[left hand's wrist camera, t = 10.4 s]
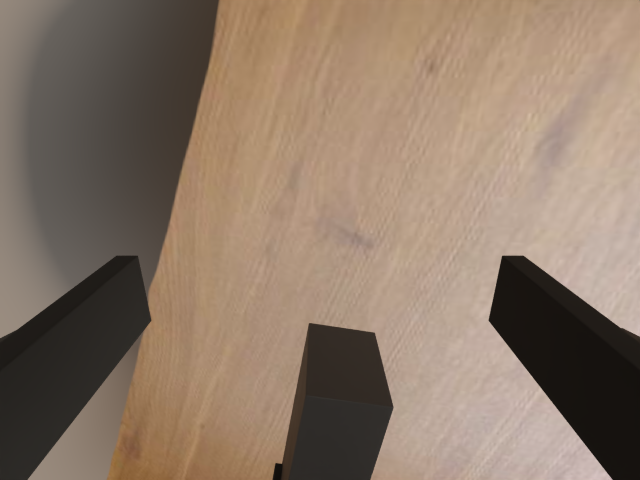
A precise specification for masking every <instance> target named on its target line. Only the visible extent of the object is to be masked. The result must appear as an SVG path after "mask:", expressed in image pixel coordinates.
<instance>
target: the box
mask: <svg viewBox="0 0 640 480" xmlns="http://www.w3.org/2000/svg"><path fill="white" fill-rule="evenodd" d="M392 411H393V404H392V400H391V396H390V392H389V388H388V384H387V380H386V376H385V372H384V368H383V364H382V360H381V356H380V352H379V348H378V344H377V340H376V336H375V333H373V332H366V331H359V330H353V329H346V328H339V327H332V326H326V325H319V324H312V323H309V326H308V331H307V337H306V342H305V347H304V352H303V357H302V363H301V368H300V373H299V378H298V384H297V389H296V394H295V399H294V404H293V410H292V415H291V420H290V425H289V431H288V436H287V441H286V446H285V451H284V457H283V462H282V473H281V480H370V479H371V476H372V473H373V470H374V467H375V463H376V460H377V457H378V454H379V451H380V448H381V445H382V442H383V439H384V436H385V432H386V429H387V426H388V423H389V420H390V417H391V414H392Z"/></svg>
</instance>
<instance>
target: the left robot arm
mask: <svg viewBox="0 0 640 480" xmlns="http://www.w3.org/2000/svg"><path fill="white" fill-rule="evenodd" d="M150 322H151V316H150V312H149V307H148V302H147V297H146V293H145V288H144V283H143V278H142V274H141V269H140V264H139V259H138V256H116V257H114V258H113V259H112V260H110V261H109V262H108V263H106V264H105V265H104V266H102V267H101V268H99V269H98V270H97V271H95V272H94V273H93V274H91V275H90V276H89V277H87V278H86V279H85V280H83V281H82V282H81V283H79V284H78V285H77V286H75V287H74V288H73V289H71V290H70V291H69V292H67V293H66V294H65V295H63V296H62V297H61V298H59V299H58V300H57V301H55V302H54V303H53V304H51V305H50V306H48V307H47V308H46V309H45V310H43V311H42V312H40V313H39V314H38V315H36V316H35V317H34V318H32V319H31V320H30V321H28V322H27V323H26V324H24V325H23V326H22V327H20V328H19V329H18V330H16V331H14V332H12V333H10V334H8V335H6V336H4V337H2V338H0V480H28V478H29V477H30V476H31V474H32V473H33V472H34V471H35V469H36V468H37V467H38V465H39V464H40V463H41V462H42V460H43V459H44V458H45V456H46V455H47V454H48V453H49V451H50V450H51V449H52V447H53V446H54V445H55V444H56V442H57V441H58V440H59V438H60V437H61V436H62V435H63V433H64V432H65V431H66V429H67V428H68V427H69V426H70V424H71V423H72V422H73V420H74V419H75V418H76V417H77V415H78V414H79V413H80V411H81V410H82V409H83V408H84V406H85V405H86V404H87V402H88V401H89V400H90V399H91V397H92V396H93V395H94V394H95V392H96V391H97V390H98V388H99V387H100V386H101V385H102V383H103V382H104V381H105V379H106V378H107V377H108V376H109V374H110V373H111V372H112V370H113V369H114V368H115V367H116V365H117V364H118V363H119V361H120V360H121V359H122V358H123V356H124V355H125V354H126V352H127V351H128V350H129V349H130V347H131V346H132V345H133V343H134V342H135V341H136V340H137V338H138V337H139V336H140V335H141V333H142V332H143V331H144V329H145V328H146V327H147V326H148V324H149V323H150ZM489 322H490V323H491V324H492V326H493V327H494V328H495V329H496V331H497V332H498V333H499V335H500V336H501V337H502V338H503V340H504V341H505V342H506V343H507V345H508V346H509V347H510V349H511V350H512V351H513V352H514V354H515V355H516V356H517V358H518V359H519V360H520V361H521V363H522V364H523V365H524V367H525V368H526V369H527V370H528V372H529V373H530V374H531V376H532V377H533V378H534V379H535V381H536V382H537V383H538V385H539V386H540V387H541V388H542V390H543V391H544V392H545V394H546V395H547V396H548V397H549V399H550V400H551V401H552V403H553V404H554V405H555V406H556V408H557V409H558V410H559V412H560V413H561V414H562V415H563V417H564V418H565V419H566V420H567V422H568V423H569V424H570V426H571V427H572V428H573V429H574V431H575V432H576V433H577V435H578V436H579V437H580V438H581V440H582V441H583V442H584V444H585V445H586V446H587V447H588V449H589V450H590V451H591V453H592V454H593V455H594V456H595V458H596V459H597V460H598V462H599V463H600V464H601V465H602V467H603V468H604V469H605V471H606V472H607V473H608V474H609V476H610V477H611V478H612V480H640V337H639V336H637V335H635V334H633V333H631V332H629V331H627V330H625V329H623V328H620V327H618V326H617V325H616V324H614V323H613V322H612V321H610V320H609V319H608V318H606V317H605V316H604V315H602V314H601V313H600V312H598V311H597V310H596V309H594V308H593V307H592V306H590V305H589V304H588V303H586V302H585V301H583V300H582V299H581V298H579V297H578V296H577V295H575V294H574V293H573V292H571V291H570V290H569V289H567V288H566V287H565V286H563V285H562V284H561V283H559V282H558V281H557V280H555V279H554V278H553V277H551V276H550V275H549V274H547V273H546V272H545V271H543V270H542V269H541V268H539V267H538V266H537V265H535V264H534V263H532V262H531V261H530V260H528V259H527V258H526V257H524V256H502V259H501V264H500V269H499V273H498V278H497V283H496V288H495V293H494V297H493V302H492V307H491V312H490V316H489Z"/></svg>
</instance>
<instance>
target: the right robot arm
mask: <svg viewBox="0 0 640 480" xmlns="http://www.w3.org/2000/svg"><path fill="white" fill-rule="evenodd" d="M281 473H282V464H278V463H276V464H275V469H274V475H273V480H281Z"/></svg>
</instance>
